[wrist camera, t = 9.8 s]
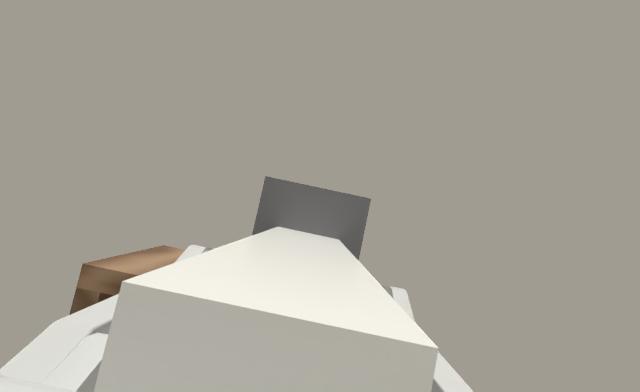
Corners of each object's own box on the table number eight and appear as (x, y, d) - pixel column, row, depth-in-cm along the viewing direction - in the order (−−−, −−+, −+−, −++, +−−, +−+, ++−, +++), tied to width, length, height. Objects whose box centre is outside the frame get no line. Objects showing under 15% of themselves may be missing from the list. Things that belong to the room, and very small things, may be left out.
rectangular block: (-72, 513, 3) (68, 28, 4) (262, 253, 23) (278, 185, 23) (517, 635, 3) (591, 140, 4) (342, 270, 23) (356, 202, 24)
